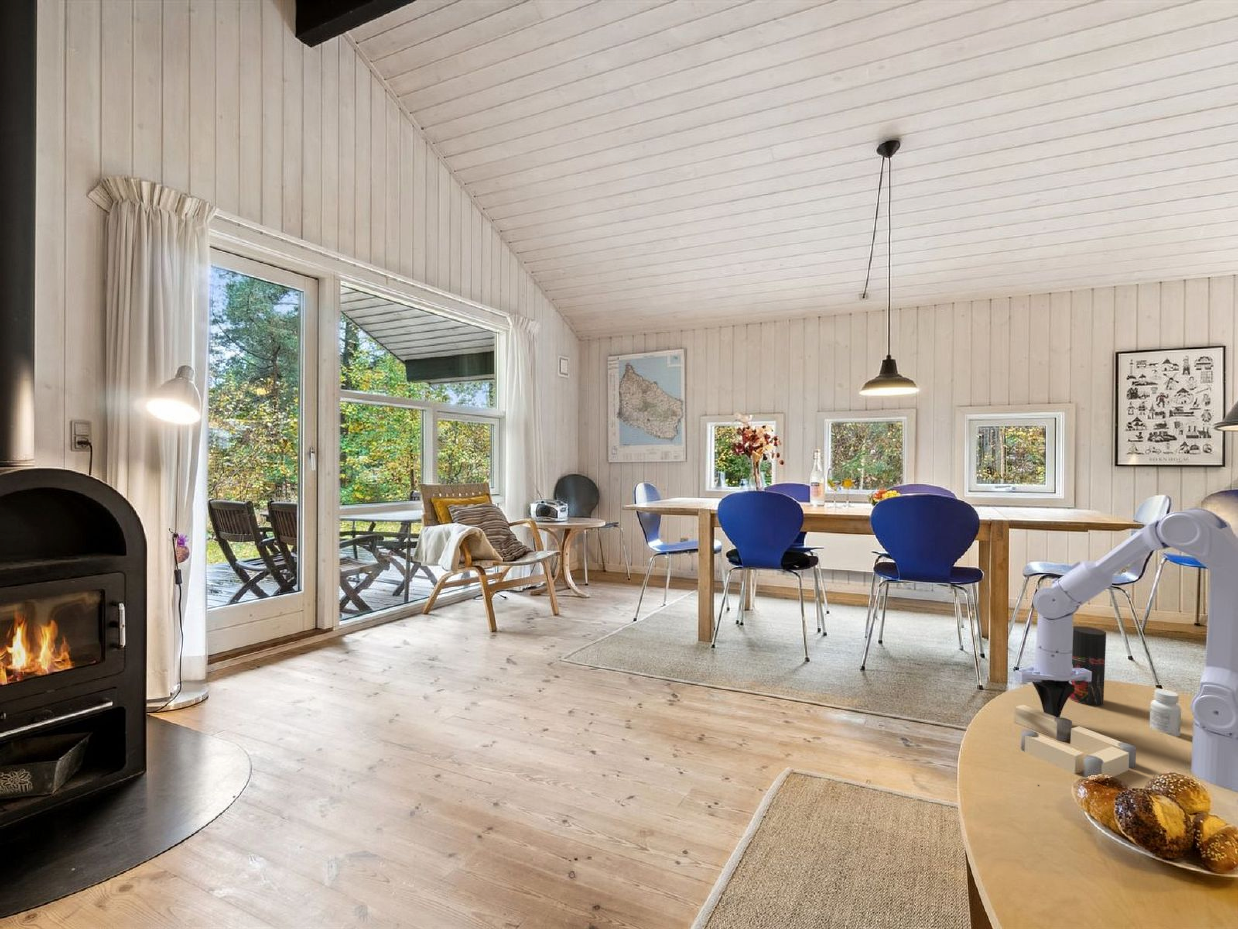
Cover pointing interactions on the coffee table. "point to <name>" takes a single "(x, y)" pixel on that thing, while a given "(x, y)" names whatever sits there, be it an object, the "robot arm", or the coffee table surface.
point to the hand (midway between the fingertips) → (1051, 718)
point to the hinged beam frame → (1102, 760)
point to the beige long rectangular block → (1044, 723)
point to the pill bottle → (1165, 712)
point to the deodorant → (1089, 664)
